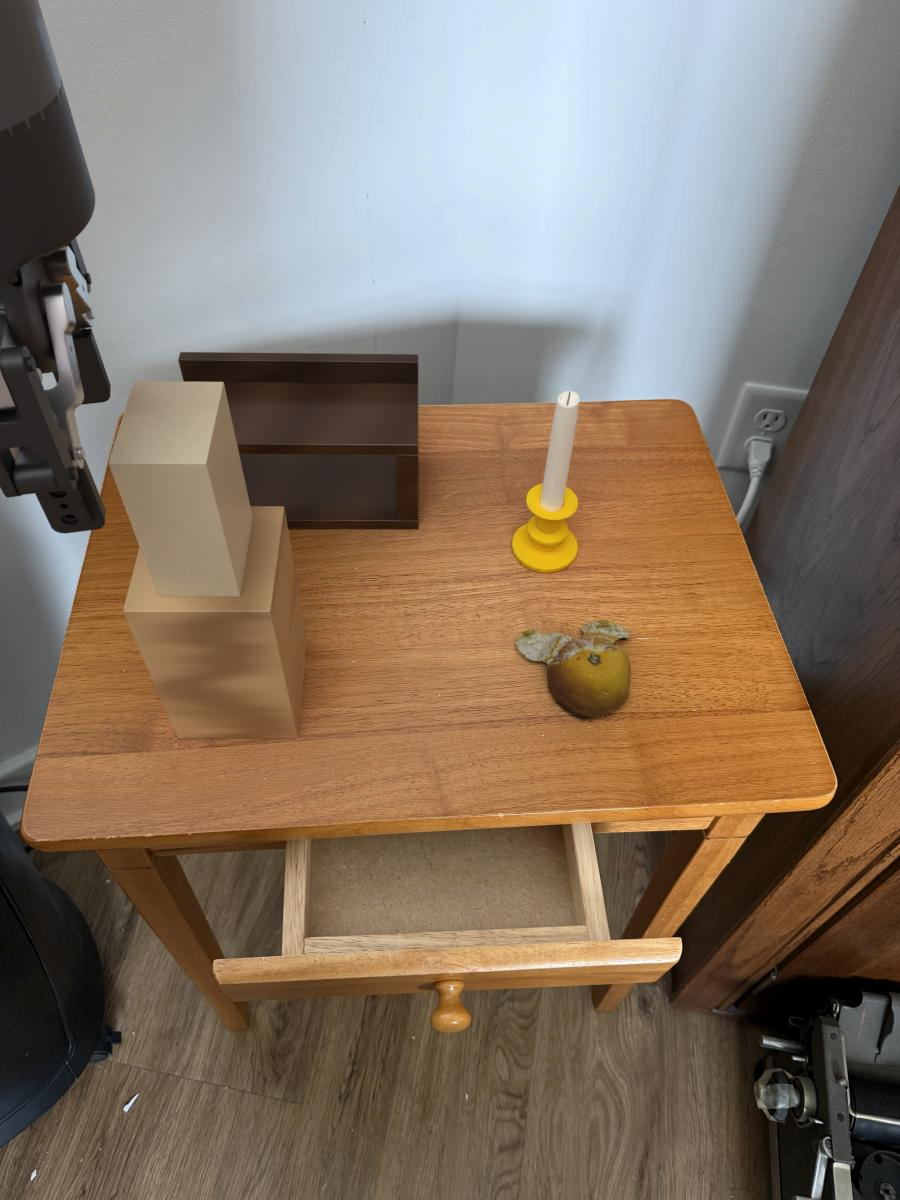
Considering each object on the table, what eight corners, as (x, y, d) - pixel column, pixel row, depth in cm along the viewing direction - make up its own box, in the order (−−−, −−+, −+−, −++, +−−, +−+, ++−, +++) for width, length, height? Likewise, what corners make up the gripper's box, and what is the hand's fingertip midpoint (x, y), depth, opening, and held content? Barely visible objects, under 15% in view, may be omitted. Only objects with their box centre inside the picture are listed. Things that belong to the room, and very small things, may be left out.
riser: (177, 739, 59) (122, 611, 48) (196, 641, 64) (149, 505, 53) (298, 738, 60) (270, 611, 49) (307, 641, 64) (284, 505, 53)
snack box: (158, 597, 49) (107, 463, 41) (176, 517, 53) (133, 380, 45) (240, 597, 49) (206, 463, 41) (253, 517, 53) (223, 381, 45)
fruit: (618, 618, 66) (626, 587, 64) (657, 712, 62) (668, 683, 59) (511, 635, 65) (515, 605, 62) (542, 733, 60) (548, 704, 57)
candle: (539, 583, 68) (565, 428, 56) (498, 541, 71) (514, 384, 59) (590, 554, 70) (626, 398, 58) (548, 515, 73) (574, 357, 61)
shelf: (192, 528, 71) (160, 421, 62) (207, 459, 76) (180, 351, 67) (418, 529, 72) (418, 423, 63) (418, 460, 76) (418, 354, 68)
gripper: (-147, 3, 32) (15, 372, 45) (-255, 204, 23) (-18, 589, 36) (70, -6, 33) (167, 356, 46) (42, 182, 25) (171, 563, 37)
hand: (86, 459), depth 41 cm, fingers open, 8 cm apart
